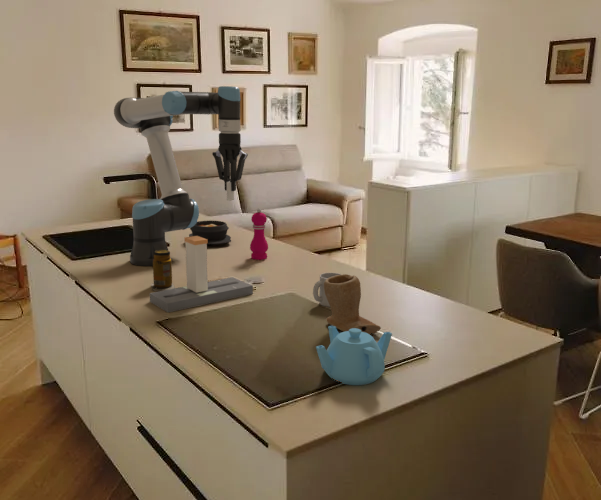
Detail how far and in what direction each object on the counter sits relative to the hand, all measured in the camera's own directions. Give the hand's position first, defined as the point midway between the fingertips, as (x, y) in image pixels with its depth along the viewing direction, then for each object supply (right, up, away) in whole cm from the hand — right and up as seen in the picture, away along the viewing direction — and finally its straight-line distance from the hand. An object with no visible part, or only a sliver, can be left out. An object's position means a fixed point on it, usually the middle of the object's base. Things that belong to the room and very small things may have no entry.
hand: (230, 199), depth 211 cm
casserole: (-15, -14, +52) cm, 57 cm away
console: (-6, -33, -24) cm, 41 cm away
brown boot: (+38, -40, -48) cm, 73 cm away
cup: (+33, -35, -28) cm, 56 cm away
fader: (-7, -30, -26) cm, 40 cm away
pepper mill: (+8, -21, +26) cm, 35 cm away
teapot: (+37, -46, -75) cm, 96 cm away
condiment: (-21, -30, -13) cm, 39 cm away
